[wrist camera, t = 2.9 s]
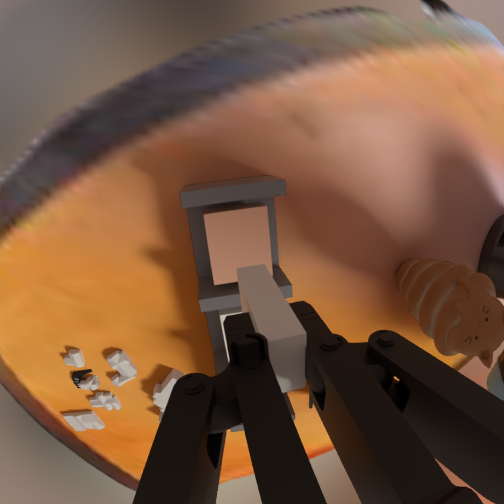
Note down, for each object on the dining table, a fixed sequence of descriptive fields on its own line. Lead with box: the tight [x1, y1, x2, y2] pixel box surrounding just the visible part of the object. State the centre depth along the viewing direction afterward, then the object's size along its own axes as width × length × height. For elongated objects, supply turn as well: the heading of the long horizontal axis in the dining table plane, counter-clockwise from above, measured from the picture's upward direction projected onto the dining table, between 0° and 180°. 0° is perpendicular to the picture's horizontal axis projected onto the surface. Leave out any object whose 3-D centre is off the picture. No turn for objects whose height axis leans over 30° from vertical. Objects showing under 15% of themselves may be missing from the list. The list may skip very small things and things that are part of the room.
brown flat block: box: [203, 202, 273, 285], centre depth 24 cm, size 5×6×2 cm
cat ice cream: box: [396, 258, 504, 368], centre depth 25 cm, size 9×8×18 cm
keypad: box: [180, 175, 295, 432], centre depth 28 cm, size 8×28×6 cm, turn 6°
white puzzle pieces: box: [63, 349, 184, 431], centre depth 30 cm, size 20×24×2 cm
